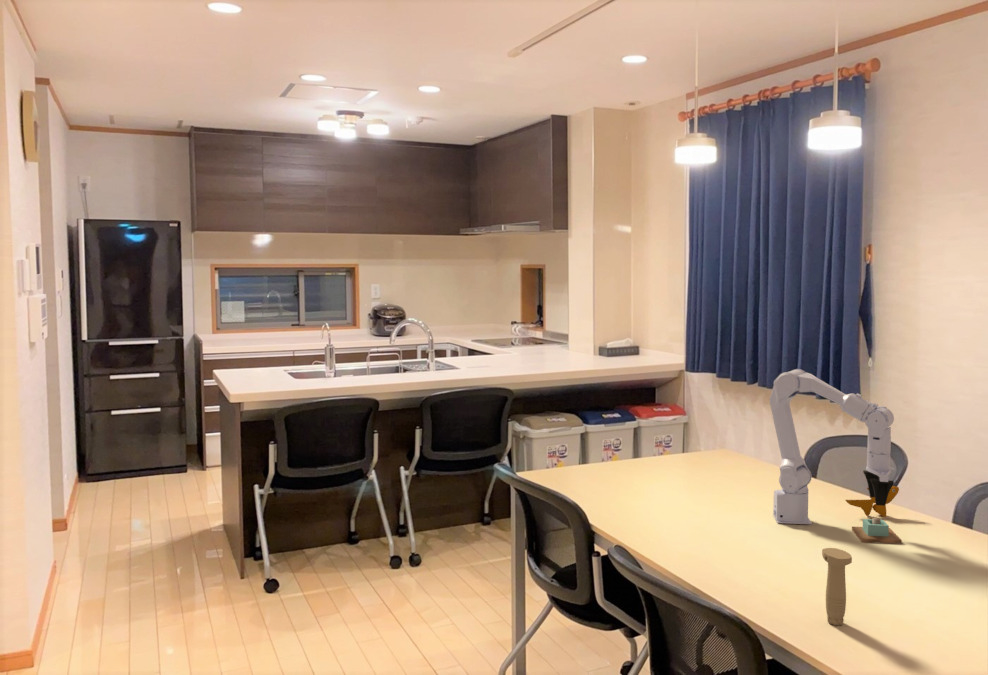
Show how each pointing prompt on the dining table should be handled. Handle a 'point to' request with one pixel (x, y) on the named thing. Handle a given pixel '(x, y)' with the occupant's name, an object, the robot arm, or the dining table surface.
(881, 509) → the toy
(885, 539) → the post block
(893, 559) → the dining table surface
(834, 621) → the handle
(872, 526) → the collar
